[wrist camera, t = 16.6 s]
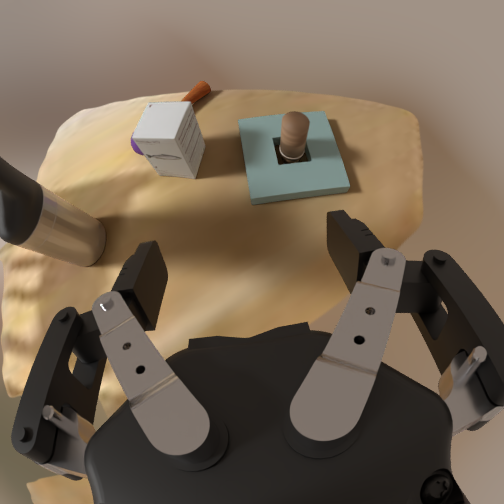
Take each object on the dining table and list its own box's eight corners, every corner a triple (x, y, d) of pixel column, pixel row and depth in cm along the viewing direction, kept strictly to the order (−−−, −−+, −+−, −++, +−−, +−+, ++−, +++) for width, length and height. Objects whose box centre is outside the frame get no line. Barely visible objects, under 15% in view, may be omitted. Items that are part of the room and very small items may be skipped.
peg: (281, 168, 44) (284, 133, 34) (277, 149, 45) (278, 112, 35) (304, 165, 44) (313, 131, 34) (299, 146, 45) (306, 110, 35)
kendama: (216, 83, 45) (143, 150, 41) (215, 101, 51) (149, 165, 46) (193, 72, 45) (121, 135, 40) (194, 90, 51) (129, 151, 46)
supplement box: (158, 176, 45) (129, 138, 33) (171, 143, 47) (147, 100, 34) (196, 180, 45) (174, 139, 32) (207, 145, 46) (191, 99, 34)
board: (251, 205, 43) (250, 198, 41) (239, 128, 46) (237, 119, 44) (346, 192, 43) (350, 186, 40) (322, 119, 46) (324, 111, 44)
